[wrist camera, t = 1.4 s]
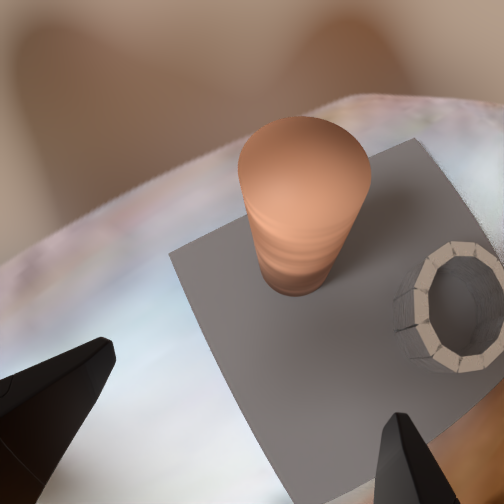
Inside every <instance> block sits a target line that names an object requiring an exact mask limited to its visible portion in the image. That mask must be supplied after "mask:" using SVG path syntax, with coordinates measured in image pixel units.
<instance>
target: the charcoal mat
mask: <svg viewBox="0 0 504 504" xmlns="http://www.w3.org/2000/svg"><path fill="white" fill-rule="evenodd" d="M368 159H369V162H370V167H371V184H370V188H369V191H368V193H367V196H366V198H365V200H364V202H363V204H362V206H361V209H360V211H359V213H358V215H357V217H356V219H355V221H354V223H353V225H352V228H351V230H350V232H349V234H348V236H347V238H346V240H345V242H344V244H343V246H342V248H341V250H340V252H339V254H338V256H337V258H336V260H335V262H334V264H333V266H332V268H331V270H330V272H329V274H328V275H327V277H326V279H325V281H324V282H323V284H322V285H321V286H320V287H319V288H318V289H317V290H315V291H314V292H312V293H310V294H308V295H305V296H300V297H290V296H285V295H282V294H280V293H278V292H276V291H275V290H273V289H272V288H271V287H270V286H269V285H268V284H267V283H266V282H265V280H264V278H263V276H262V274H261V270H260V266H259V262H258V258H257V253H256V249H255V245H254V241H253V236H252V232H251V228H250V224H249V219H248V215H245V216H243V217H241V218H238V219H236V220H234V221H232V222H230V223H228V224H226V225H224V226H222V227H220V228H218V229H216V230H214V231H212V232H210V233H208V234H206V235H204V236H202V237H200V238H198V239H196V240H194V241H192V242H190V243H188V244H186V245H184V246H182V247H180V248H179V249H177V250H175V251H173V252H171V253H169V256H170V259H171V261H172V264H173V266H174V269H175V271H176V273H177V276H178V278H179V280H180V283H181V285H182V287H183V290H184V292H185V294H186V297H187V299H188V301H189V304H190V306H191V308H192V310H193V313H194V315H195V317H196V319H197V321H198V324H199V326H200V328H201V330H202V332H203V335H204V337H205V339H206V341H207V343H208V345H209V347H210V349H211V352H212V354H213V356H214V358H215V360H216V362H217V364H218V366H219V368H220V370H221V372H222V374H223V376H224V378H225V380H226V382H227V384H228V386H229V388H230V390H231V392H232V394H233V396H234V398H235V400H236V402H237V404H238V406H239V408H240V410H241V411H242V413H243V415H244V417H245V419H246V421H247V423H248V425H249V427H250V428H251V430H252V432H253V434H254V436H255V438H256V439H257V441H258V443H259V445H260V447H261V448H262V450H263V452H264V454H265V455H266V457H267V459H268V461H269V462H270V464H271V466H272V468H273V469H274V471H275V473H276V474H277V476H278V478H279V479H280V481H281V483H282V484H283V486H284V488H285V489H286V491H287V493H288V494H289V496H290V498H291V499H292V501H293V502H294V504H324V503H326V502H329V501H331V500H333V499H335V498H337V497H339V496H341V495H343V494H345V493H347V492H349V491H351V490H353V489H355V488H357V487H359V486H360V485H362V484H364V483H366V482H368V481H370V480H371V479H373V478H375V476H376V468H377V462H378V456H379V450H380V443H381V435H382V430H383V428H384V426H385V424H386V423H387V422H388V420H389V419H390V418H391V416H392V415H393V414H394V413H395V412H401V413H407V414H408V415H409V417H410V418H411V420H412V421H413V423H414V425H415V426H416V428H417V430H418V431H419V433H420V435H421V436H422V438H423V440H424V441H425V443H426V444H427V443H429V442H430V441H432V440H433V439H434V438H436V437H437V436H438V435H440V434H441V433H442V432H443V431H445V430H446V429H447V428H449V427H450V426H451V425H452V424H454V423H455V422H456V421H457V420H458V419H460V418H461V417H462V416H463V415H464V414H466V413H467V412H468V411H469V410H470V409H471V408H472V407H474V406H475V405H476V404H477V403H478V402H479V401H480V400H481V399H482V398H484V397H485V396H486V395H487V394H488V393H489V392H490V391H491V390H492V389H493V388H494V387H495V386H496V385H497V384H498V383H499V382H500V381H501V380H502V379H503V378H504V350H503V351H502V353H501V354H500V355H499V356H498V357H497V358H496V359H494V360H493V361H492V362H491V363H490V364H489V365H488V366H487V367H486V368H483V369H482V370H476V371H469V372H462V373H432V372H428V371H427V370H425V369H423V368H422V367H420V366H418V365H417V364H415V363H413V362H411V361H410V360H408V359H409V358H406V356H405V354H404V352H403V350H402V348H401V346H400V344H399V342H398V340H397V338H396V336H395V335H394V333H395V332H396V331H393V301H395V300H393V299H394V297H395V295H396V293H397V291H398V288H399V286H400V284H401V282H402V280H403V278H404V276H405V275H406V273H407V272H409V271H410V270H411V269H413V268H414V267H415V266H416V265H418V264H419V263H420V262H421V261H423V260H424V259H425V258H426V257H428V256H429V255H430V254H432V253H433V252H435V251H436V250H438V249H439V248H441V247H442V246H444V245H445V244H446V243H448V242H451V241H456V242H474V243H475V244H476V243H477V244H478V245H480V246H481V247H483V248H484V249H485V250H487V251H488V252H489V253H491V254H492V255H493V256H495V257H496V258H497V261H498V260H499V258H498V256H497V254H496V252H495V251H494V249H493V247H492V245H491V244H490V242H489V240H488V239H487V237H486V235H485V234H484V232H483V230H482V229H481V227H480V226H479V224H478V222H477V221H476V219H475V218H474V216H473V215H472V213H471V212H470V210H469V209H468V207H467V206H466V204H465V203H464V201H463V200H462V198H461V197H460V195H459V194H458V192H457V191H456V190H455V188H454V187H453V186H452V184H451V183H450V181H449V180H448V179H447V177H446V176H445V175H444V173H443V172H442V171H441V169H440V168H439V167H438V165H437V164H436V163H435V162H434V160H433V159H432V158H431V157H430V155H429V154H428V153H427V152H426V150H425V149H424V148H423V147H422V146H421V144H420V143H419V142H418V141H417V140H416V139H415V138H413V139H411V140H408V141H406V142H404V143H401V144H399V145H397V146H394V147H392V148H390V149H388V150H385V151H383V152H381V153H378V154H376V155H374V156H372V157H369V158H368ZM499 262H500V260H499ZM500 263H501V262H500ZM501 265H502V263H501ZM502 267H503V265H502ZM503 269H504V267H503ZM428 303H429V321H430V323H431V325H432V327H433V329H434V331H435V333H436V335H437V337H438V339H439V341H440V343H441V345H443V346H444V347H446V348H448V349H449V350H451V351H452V352H454V353H456V354H457V353H459V352H460V351H461V350H462V349H463V348H465V347H466V346H467V345H468V344H469V342H470V339H471V337H472V334H473V332H474V329H475V326H476V308H475V301H474V299H473V297H472V295H471V293H470V291H469V290H468V288H467V286H466V284H465V283H464V282H462V281H461V280H459V279H458V278H456V277H455V276H453V275H452V274H450V273H436V274H435V276H434V279H433V281H432V284H431V286H430V288H429V291H428Z"/></svg>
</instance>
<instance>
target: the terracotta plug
mask: <svg viewBox="0 0 504 504" xmlns="http://www.w3.org/2000/svg"><path fill="white" fill-rule="evenodd" d="M238 176H239V181H240V186H241V190H242V194H243V198H244V202H245V207H246V211H247V215H248V219H249V224H250V228H251V232H252V236H253V241H254V245H255V249H256V253H257V258H258V262H259V266H260V270H261V274H262V276H263V278H264V280H265V282H266V283H267V284H268V285H269V286H270V287H271V288H272V289H273V290H275V291H276V292H278V293H280V294H282V295H285V296H290V297H300V296H305V295H308V294H310V293H312V292H314V291H315V290H317V289H318V288H319V287H320V286H321V285H322V284H323V282H324V281H325V279H326V277H327V275H328V274H329V272H330V270H331V268H332V266H333V264H334V262H335V260H336V258H337V256H338V254H339V252H340V250H341V248H342V246H343V244H344V242H345V240H346V238H347V236H348V234H349V232H350V230H351V228H352V225H353V223H354V221H355V219H356V217H357V215H358V213H359V211H360V209H361V206H362V204H363V202H364V200H365V198H366V196H367V193H368V191H369V188H370V184H371V167H370V162H369V159H368V157H367V154H366V152H365V151H364V149H363V147H362V146H361V145H360V143H359V142H358V141H357V140H356V139H355V138H354V137H353V136H352V135H351V134H350V133H349V132H347V131H346V130H345V129H343V128H342V127H340V126H338V125H336V124H334V123H331V122H329V121H326V120H323V119H319V118H314V117H305V116H299V117H288V118H283V119H279V120H277V121H274V122H271V123H269V124H267V125H265V126H263V127H262V128H260V129H259V130H258V131H257V132H255V133H254V134H253V135H252V136H251V137H250V138H249V139H248V141H247V142H246V143H245V145H244V147H243V149H242V151H241V154H240V157H239V161H238Z"/></svg>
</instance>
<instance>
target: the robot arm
mask: <svg viewBox="0 0 504 504" xmlns="http://www.w3.org/2000/svg"><path fill="white" fill-rule="evenodd" d="M115 362H116V355H115V351H114V346H113V342H112V341H111V340H109V339H107V338H104V337H98V338H96V339H94V340H92V341H89V342H87V343H85V344H83V345H80V346H78V347H76V348H73V349H71V350H69V351H67V352H64V353H62V354H60V355H57V356H55V357H53V358H50V359H48V360H46V361H44V362H41V363H39V364H37V365H34V366H32V367H30V368H27V369H25V370H23V371H20V372H18V373H16V374H14V375H11V376H8V377H6V378H4V379H1V380H0V504H36V502H37V500H38V498H39V496H40V495H41V493H42V491H43V489H44V488H45V485H46V484H47V482H48V480H49V479H50V477H51V475H52V473H53V472H54V470H55V468H56V466H57V465H58V463H59V461H60V460H61V458H62V456H63V455H64V453H65V451H66V450H67V448H68V446H69V445H70V443H71V441H72V440H73V438H74V436H75V435H76V433H77V432H78V430H79V428H80V427H81V425H82V423H83V422H84V420H85V419H86V417H87V415H88V414H89V412H90V411H91V409H92V408H93V406H94V404H95V403H96V401H97V399H98V397H99V396H100V394H101V392H102V389H103V387H104V385H105V383H106V381H107V379H108V377H109V375H110V373H111V371H112V369H113V367H114V365H115ZM373 504H461V503H460V502H459V500H458V498H456V495H455V493H454V491H453V489H452V488H451V486H450V484H449V482H448V480H447V479H446V477H445V475H444V474H443V472H442V470H441V468H440V467H439V465H438V463H437V461H436V460H435V458H434V456H433V455H432V453H431V451H430V450H429V448H428V446H427V445H426V443H425V441H424V440H423V438H422V436H421V435H420V433H419V431H418V430H417V428H416V426H415V425H414V423H413V421H412V420H411V418H410V417H409V415H408V414H407V413H401V412H395V413H394V414H393V415H392V416H391V418H390V419H389V420H388V422H387V423H386V424H385V426H384V428H383V430H382V435H381V443H380V450H379V456H378V462H377V468H376V476H375V490H374V503H373Z"/></svg>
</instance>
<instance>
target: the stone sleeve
mask: <svg viewBox="0 0 504 504" xmlns="http://www.w3.org/2000/svg"><path fill="white" fill-rule="evenodd" d="M436 273H450V274H452V275H453V276H455V277H456V278H458V279H459V280H461V281H462V282H464V283H465V284H466V286H467V288H468V290H469V291H470V293H471V295H472V297H473V299H474V301H475V308H476V326H475V329H474V332H473V334H472V337H471V339H470V342H469V344H468V345H467V346H466V347H465V348H463V349H462V350H461V351H460V352H459V353H457V354H456V353H454V352H452V351H451V350H449V349H448V348H446V347H444V346H443V345H441V343H440V341H439V339H438V337H437V335H436V333H435V331H434V329H433V327H432V325H431V323H430V321H429V303H428V291H429V288H430V286H431V284H432V281H433V279H434V276H435V274H436ZM393 300H395V301H393V331H396V332H395V333H394V335H395V336H396V338H397V340H398V342H399V344H400V346H401V348H402V350H403V352H404V354H405V356H406V358H409V359H408V360H410V361H411V362H413V363H415V364H417V365H418V366H420V367H422V368H423V369H425V370H427V371H428V372H432V373H462V372H469V371H476V370H482V369H483V368H486V367H487V366H488V365H489V364H490V363H491V362H492V361H493V360H494V359H496V358H497V357H498V356H499V355H500V354H501V353H502V351H503V350H504V269H503V267H502V265H501V263H500V262H499V260H498V261H497V258H496V257H495V256H493V255H492V254H491V253H489V252H488V251H487V250H485V249H484V248H483V247H481V246H480V245H478V244H477V243H476V244H475V243H474V242H456V241H451V242H448V243H446V244H445V245H444V246H442V247H441V248H439V249H438V250H436V251H435V252H433V253H432V254H430V255H429V256H428V257H426V258H425V259H424V260H423V261H421V262H420V263H419V264H418V265H416V266H415V267H414V268H413V269H411V270H410V271H409V272H407V273H406V275H405V276H404V278H403V280H402V282H401V284H400V286H399V288H398V291H397V293H396V295H395V297H394V299H393Z"/></svg>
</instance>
